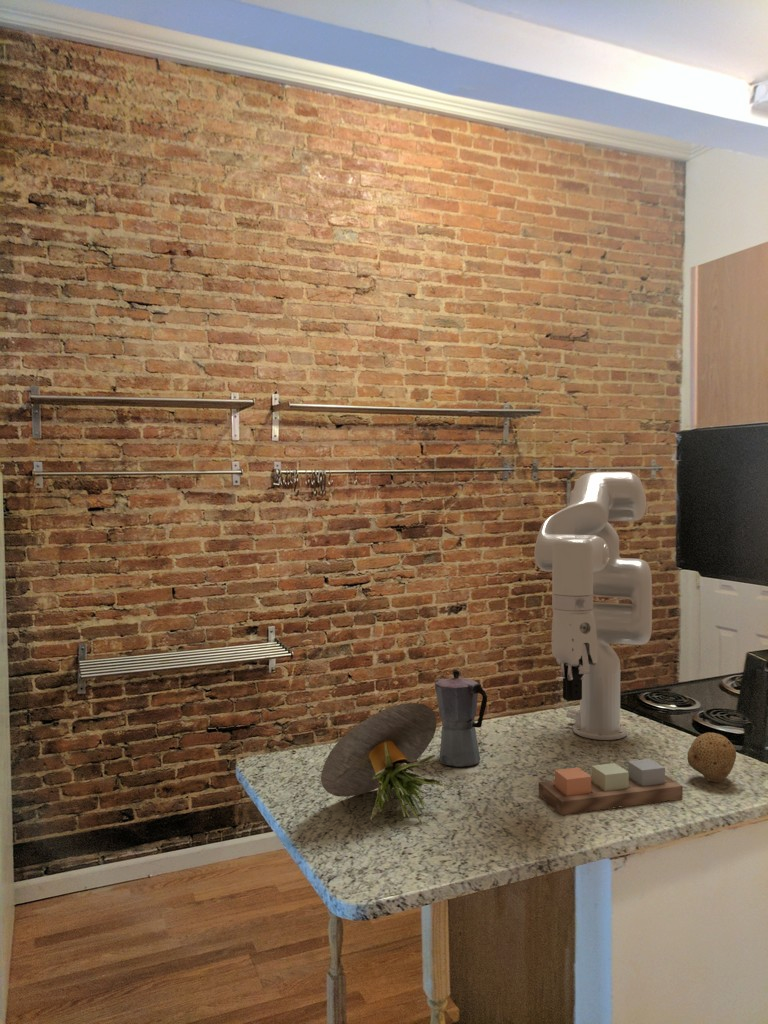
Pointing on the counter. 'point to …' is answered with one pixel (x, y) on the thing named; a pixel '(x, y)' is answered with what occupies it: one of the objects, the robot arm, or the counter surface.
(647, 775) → the slate button
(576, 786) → the terracotta button
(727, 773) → the natural sponge
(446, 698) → the moka pot
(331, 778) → the potted plant
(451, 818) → the counter surface
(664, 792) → the walnut panel
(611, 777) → the sage button
